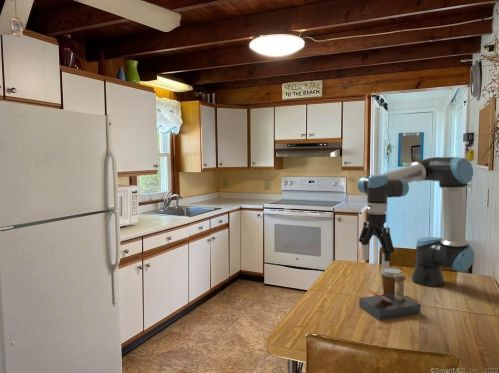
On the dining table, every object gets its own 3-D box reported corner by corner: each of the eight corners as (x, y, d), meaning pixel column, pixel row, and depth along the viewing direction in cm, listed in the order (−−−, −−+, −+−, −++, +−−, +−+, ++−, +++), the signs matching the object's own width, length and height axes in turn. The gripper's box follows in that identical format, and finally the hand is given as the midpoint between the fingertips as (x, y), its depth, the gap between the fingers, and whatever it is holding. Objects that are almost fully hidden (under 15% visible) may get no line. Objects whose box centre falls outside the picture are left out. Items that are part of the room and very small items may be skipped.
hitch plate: (397, 301, 168) (397, 292, 167) (420, 313, 154) (420, 304, 154) (359, 306, 162) (359, 298, 161) (379, 320, 148) (380, 311, 148)
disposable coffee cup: (403, 299, 169) (404, 274, 168) (381, 298, 171) (382, 272, 170) (399, 292, 179) (400, 267, 177) (378, 290, 180) (379, 266, 179)
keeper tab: (383, 299, 160) (384, 296, 160) (392, 304, 155) (393, 301, 155) (366, 290, 157) (367, 287, 157) (374, 295, 152) (376, 292, 152)
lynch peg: (399, 305, 163) (400, 272, 161) (407, 310, 158) (408, 276, 157) (390, 307, 161) (391, 274, 160) (397, 311, 156) (399, 277, 155)
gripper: (351, 209, 162) (350, 256, 164) (388, 218, 139) (386, 274, 141) (366, 208, 165) (364, 255, 166) (405, 217, 141) (403, 272, 143)
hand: (374, 264), depth 154 cm, fingers open, 12 cm apart
